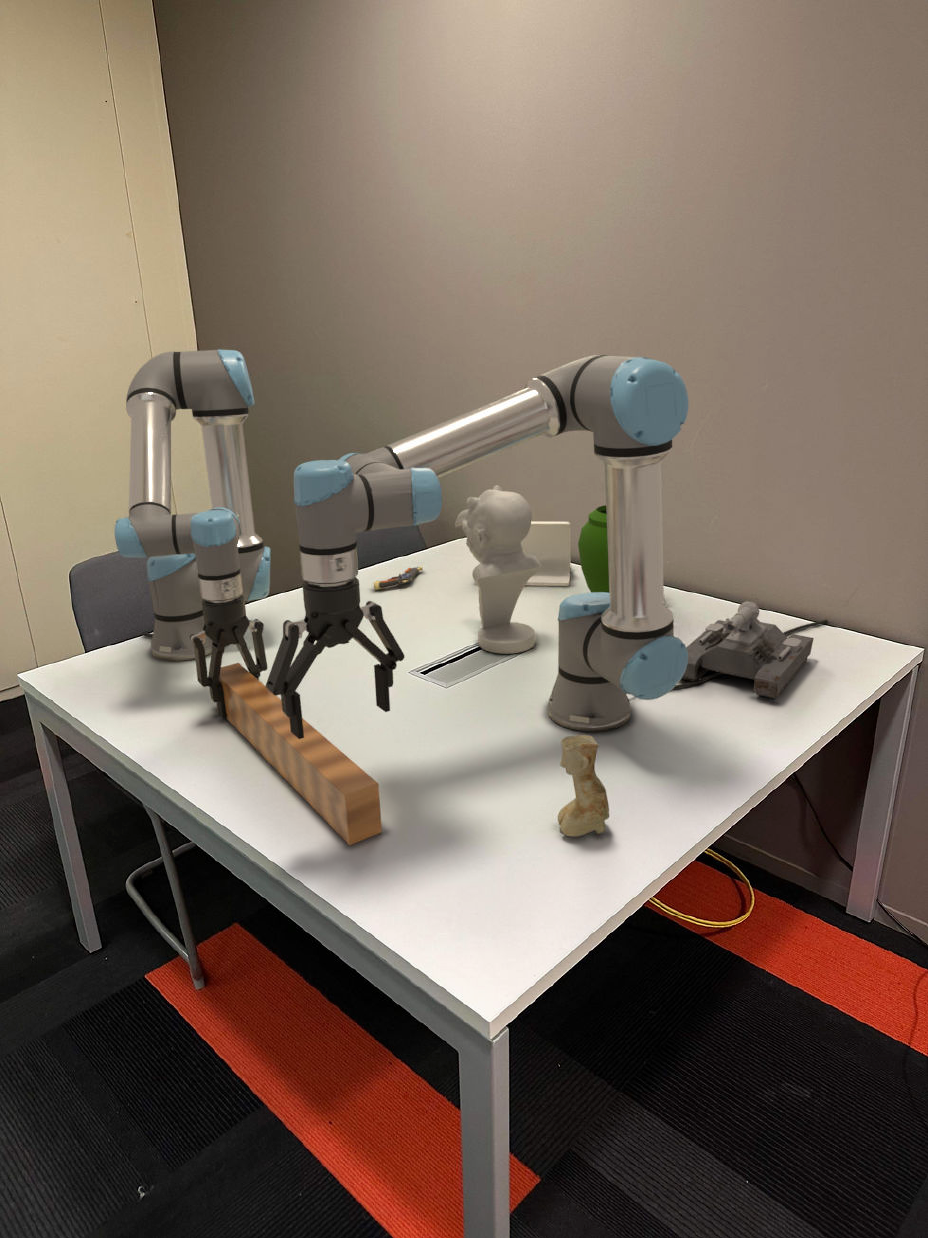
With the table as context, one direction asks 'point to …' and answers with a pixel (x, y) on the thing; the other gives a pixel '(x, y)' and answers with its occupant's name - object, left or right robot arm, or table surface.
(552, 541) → the tablet stand
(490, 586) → the bust sculpture
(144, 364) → the left robot arm
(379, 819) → the bar
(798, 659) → the toy
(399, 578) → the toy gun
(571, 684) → the right robot arm
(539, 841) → the table surface
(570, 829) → the sculpture
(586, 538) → the vase
